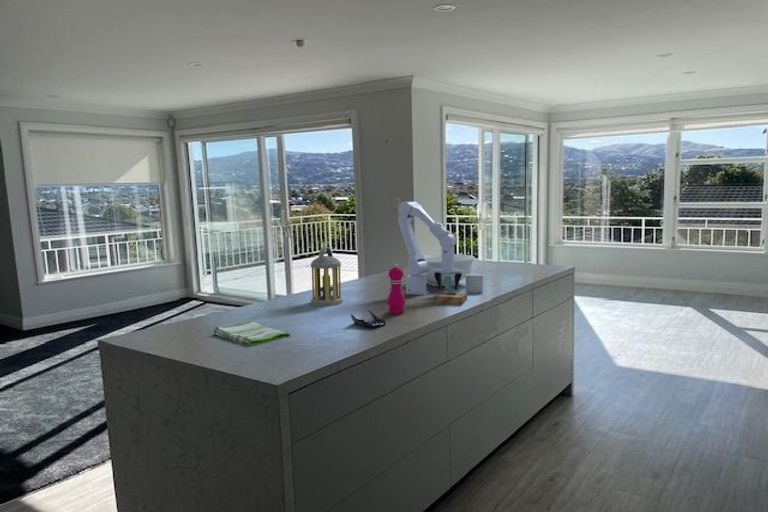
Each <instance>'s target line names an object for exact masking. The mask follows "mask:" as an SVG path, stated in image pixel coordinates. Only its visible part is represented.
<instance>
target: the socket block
mask: <svg viewBox="0 0 768 512" xmlns="http://www.w3.org/2000/svg"><path fill="white" fill-rule="evenodd" d="M467 300H468V293H467V292H466V291H451V292H450V291H445V290H444V291H443V290H441V291H439V292H438V293H437V294H435V295H434V304H439V305H456V306H457V305H459V306H462V305H463V304H465V302H466V301H467Z"/></svg>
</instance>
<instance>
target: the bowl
mask: <svg viewBox="0 0 768 512" xmlns="http://www.w3.org/2000/svg"><path fill="white" fill-rule="evenodd" d="M422 255H423V256H424V257H425V260H426V261H427V262H428V264H429V270H428V271H427V274H426V280H427V282H428V285H429V286H430V285H432V286H431V287H435V286H438V283H437V280H436V278H435V276H434V275H435V274H432V270H433V269H442V253H430V254H422ZM475 258H476V257H475V256H474V255H470V254H462V253H461V254H459V253H454V269H456V270H464V275H462V276H461V278H460V280H459V283H458V284H459V285H460V281H462V280H464V279H466V274H470V272H471V270H472V266H473V261H475ZM444 273H445V272H444ZM450 273H452V272H450ZM455 275H456V274H442V277H441V286H445V276H451V286H452V287H455Z"/></svg>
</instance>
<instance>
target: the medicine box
mask: <svg viewBox="0 0 768 512" xmlns="http://www.w3.org/2000/svg"><path fill="white" fill-rule="evenodd" d="M483 278H484V277H483V274H480V273H479V274H478V273H473V274H470V273H469V274H466V277H465V292H467V294H483V293H484V289H483V288H484V285H483V284H484V283H483V282H484V279H483Z"/></svg>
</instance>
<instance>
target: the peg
mask: <svg viewBox="0 0 768 512" xmlns="http://www.w3.org/2000/svg"><path fill="white" fill-rule="evenodd" d="M444 291H450V292H452V287H451V276H445V287H444Z"/></svg>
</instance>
